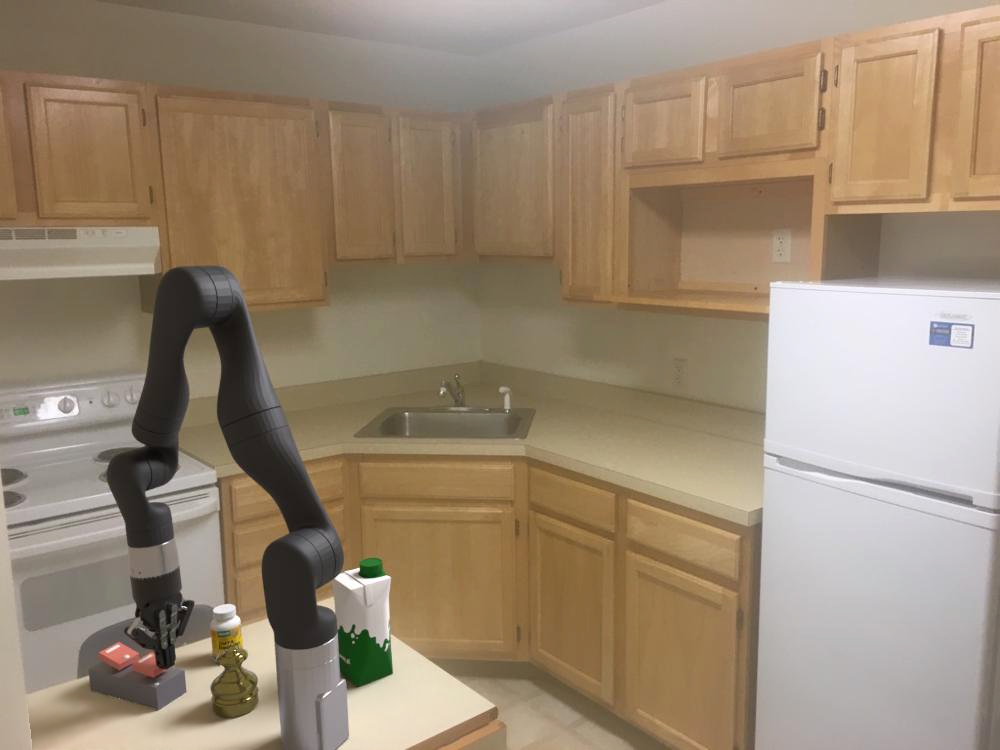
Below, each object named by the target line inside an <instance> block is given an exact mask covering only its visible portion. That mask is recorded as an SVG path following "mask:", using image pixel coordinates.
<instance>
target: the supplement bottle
mask: <svg viewBox="0 0 1000 750" xmlns="http://www.w3.org/2000/svg"><path fill="white" fill-rule="evenodd" d="M212 618H213V619H212V621H210V625H209V626H210V638H211V647H212V649H211V651H212V658H213V661H214V662H215V663H217V662H216V657H217V655H218V654H219V653H221V652H222V651H224V650H226V649H228V648H230V647H238V648H243V649H244V643H243V633H242V631H243V630H242V621H241V618H240V616H238V615H237V607H236V606H235V604H231V603H226V604H219V605H218V606H216V607H214V608H213V609H212Z"/></svg>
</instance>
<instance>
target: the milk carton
mask: <svg viewBox="0 0 1000 750" xmlns="http://www.w3.org/2000/svg"><path fill="white" fill-rule="evenodd" d="M391 583H392V577H391V576H389V574H387V573H386V571H385V570H384V567H383V560H382V559H380V558H378V557H368V558H364V559H362V560H361V561H359V567H358V568H354V569H350V570H345V571H344V572H340V574H339V575H338V576H337V577H336V578H334V579H333V580H331V584H332V591H333V592H332V593H333V600H334V613H335V614H336V617H337V627H338V647H339V664H340V674H341V675H343V676H344V677H345V678H346V679H347V680H348V681H350V682H351V684H353V685H354V686H355V687H356V688H359V687H361V686H364V685H366V684H370V683H372V682H374V681H377V680H379V679H382V678H385V677H388V676H389V675H393V674H394V668H393V656H392V655H393V654H392V653H393V652H392V640H391V639H392V638H391V637H392V636H391V622H390V620H391V619H390V616H391V615H390V590H391Z"/></svg>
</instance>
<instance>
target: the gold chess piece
mask: <svg viewBox="0 0 1000 750" xmlns="http://www.w3.org/2000/svg"><path fill="white" fill-rule="evenodd" d="M248 652H249V651H248V650H247V649H245V648H244V647H243V648H238V647H230V648H228V649H226V650H224V651H222V652H221V653H219V654H218V655H217V657H216V662H215V663H217V664H218V665H220V666H221V667H223V668H224V669H223V671H222V672H220V673H219V675H218V676H216V677H215V678H214V679H213V680H212V682H211V684H210V692H211V699H210V700H211V705H212V706H211V707H212V712H213V713H214V714H215V715H216V716H217V717H220V718H235V717H236V718H237V717H240V716H243V715H246V714H248V713H250V712H251V711H253V710H254V709H255V708H257V706H258V704H259V703H260V702H259V700H260V699H259V696H260V695H259V690H260V689H259V687H258V681H259V679H258V676H257V674H256V673H255V672H254V671H252V670H249V669H247V668H246V667H244V666H243V663H244V662H245V661H246V660H247V658H248V656H249V653H248Z"/></svg>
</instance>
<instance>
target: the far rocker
mask: <svg viewBox="0 0 1000 750" xmlns="http://www.w3.org/2000/svg"><path fill="white" fill-rule="evenodd" d="M139 658H140V653H139V652H138V651H135V650H134V649H133V648H130V647H129V646H127V645H125V644H123V643H122V642H120V641H118V642H116V643H115V644H112V645H111V646H109V647H106V648H105V649H103V650H101V651H99V652H98V659H99V660H100V661H101V662H102V661H104V662H106V663H107V664H109V666H110V667H114V668H116V669H118V670H121V669H123V668H125V667H126V666H128V665H130V664H132V663H133V662H135V661H137V660H138V659H139Z"/></svg>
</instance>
